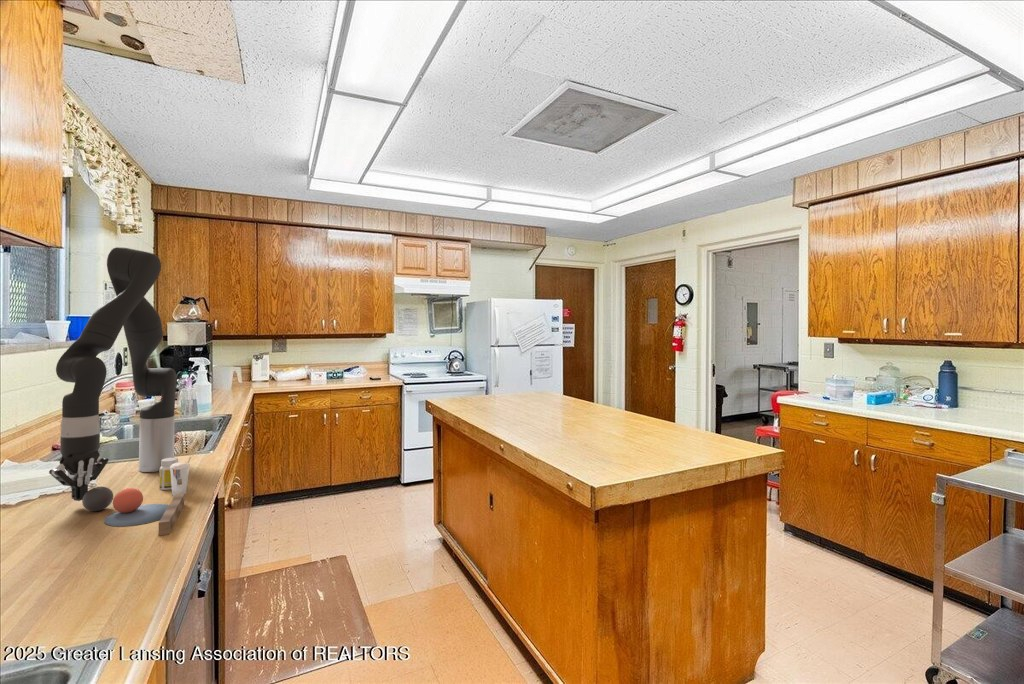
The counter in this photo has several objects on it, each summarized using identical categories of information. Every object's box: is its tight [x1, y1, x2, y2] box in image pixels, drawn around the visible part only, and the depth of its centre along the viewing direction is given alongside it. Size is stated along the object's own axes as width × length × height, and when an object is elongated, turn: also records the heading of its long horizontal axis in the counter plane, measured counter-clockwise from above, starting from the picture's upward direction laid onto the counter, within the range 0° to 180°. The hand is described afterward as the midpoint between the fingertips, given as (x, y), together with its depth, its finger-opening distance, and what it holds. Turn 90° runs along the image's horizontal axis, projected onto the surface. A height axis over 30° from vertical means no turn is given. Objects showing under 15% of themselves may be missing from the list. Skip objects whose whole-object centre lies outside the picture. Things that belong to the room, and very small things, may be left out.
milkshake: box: [170, 456, 192, 497], centre depth 134 cm, size 4×5×10 cm
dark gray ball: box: [81, 486, 114, 512], centre depth 121 cm, size 6×6×6 cm
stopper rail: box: [157, 493, 186, 536], centre depth 117 cm, size 20×2×3 cm, turn 26°
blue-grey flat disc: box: [104, 503, 169, 527], centre depth 119 cm, size 14×14×1 cm
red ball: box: [112, 487, 144, 513], centre depth 120 cm, size 6×6×6 cm
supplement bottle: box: [158, 457, 179, 491], centre depth 139 cm, size 5×5×8 cm
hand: (79, 499), depth 122 cm, fingers closed
